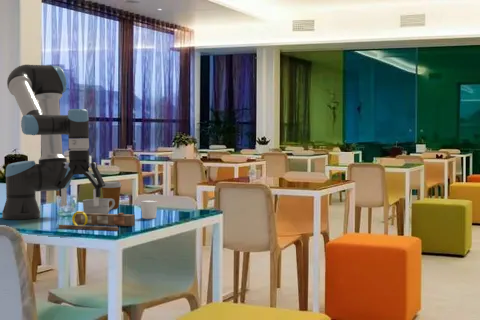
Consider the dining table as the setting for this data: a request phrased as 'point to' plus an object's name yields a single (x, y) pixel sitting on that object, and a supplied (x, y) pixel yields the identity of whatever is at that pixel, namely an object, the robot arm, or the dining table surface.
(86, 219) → the yellow ring
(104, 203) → the teacup
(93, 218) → the wooden tray
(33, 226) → the dining table surface
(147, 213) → the white tapered cup
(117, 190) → the disposable coffee cup
